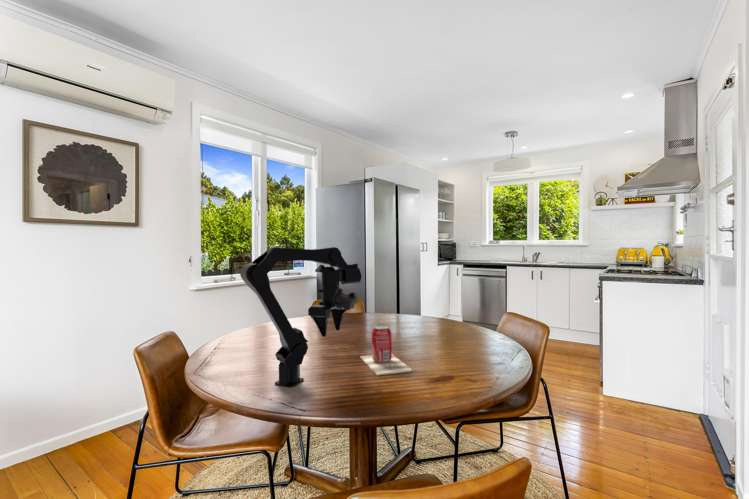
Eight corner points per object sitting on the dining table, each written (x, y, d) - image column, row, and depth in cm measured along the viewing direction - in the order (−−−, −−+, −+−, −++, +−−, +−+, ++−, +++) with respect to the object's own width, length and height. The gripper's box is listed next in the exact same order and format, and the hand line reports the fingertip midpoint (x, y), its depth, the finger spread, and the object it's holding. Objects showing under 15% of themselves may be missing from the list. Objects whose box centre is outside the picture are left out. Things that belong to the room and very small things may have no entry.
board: (411, 371, 123) (411, 369, 123) (377, 375, 119) (377, 373, 119) (390, 354, 142) (390, 353, 142) (360, 357, 138) (360, 356, 138)
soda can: (380, 356, 138) (379, 323, 138) (395, 360, 133) (395, 326, 133) (367, 361, 132) (367, 327, 132) (383, 365, 128) (383, 330, 128)
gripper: (339, 289, 110) (339, 342, 111) (364, 283, 128) (365, 329, 128) (306, 288, 115) (307, 339, 115) (335, 282, 132) (336, 326, 132)
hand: (331, 333), depth 122 cm, fingers open, 9 cm apart
